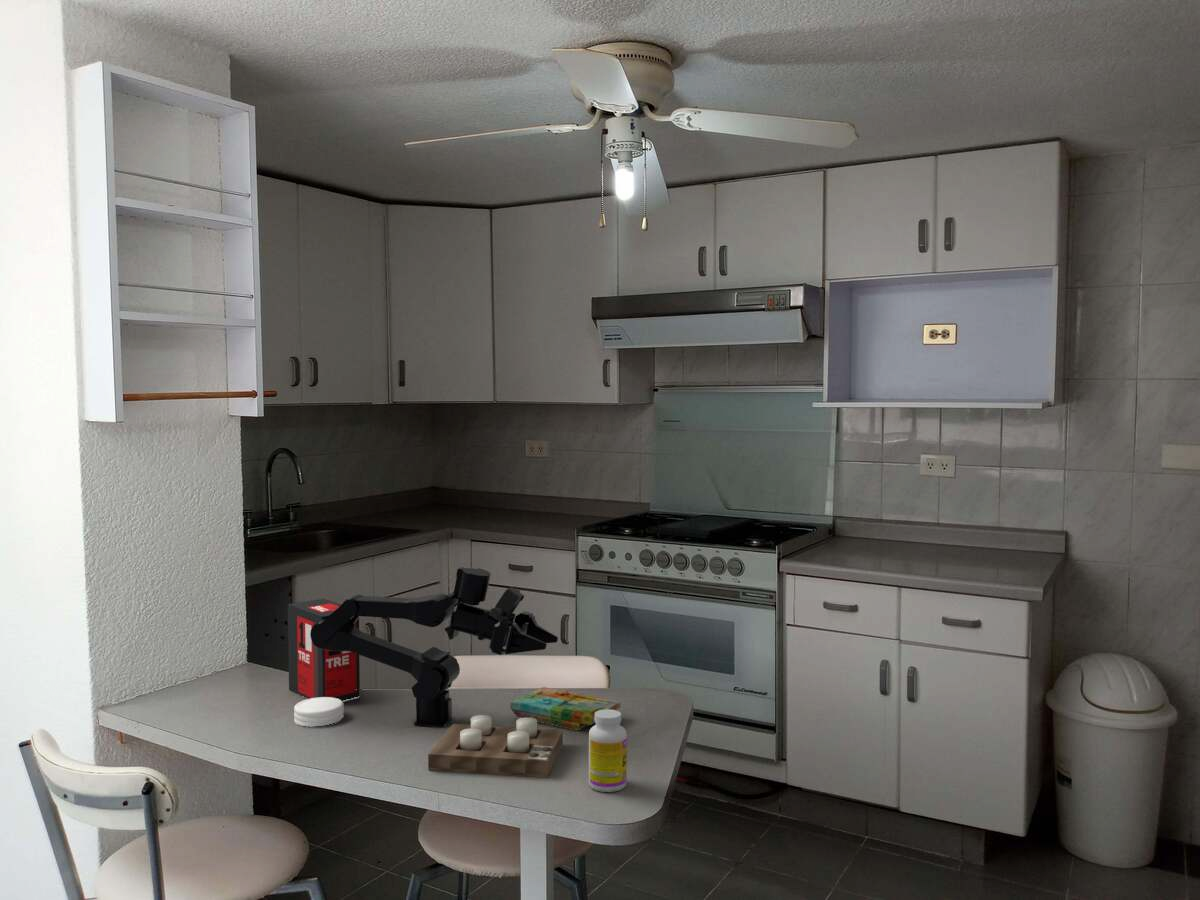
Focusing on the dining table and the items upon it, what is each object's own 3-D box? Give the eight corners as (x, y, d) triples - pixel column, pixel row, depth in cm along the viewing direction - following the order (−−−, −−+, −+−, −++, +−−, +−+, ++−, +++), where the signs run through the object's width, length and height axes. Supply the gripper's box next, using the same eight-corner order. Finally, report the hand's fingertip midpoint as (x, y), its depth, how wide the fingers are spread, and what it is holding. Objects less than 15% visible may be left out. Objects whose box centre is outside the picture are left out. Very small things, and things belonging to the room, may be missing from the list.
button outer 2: (505, 752, 173) (505, 738, 173) (510, 744, 177) (510, 730, 177) (526, 753, 173) (526, 739, 173) (531, 745, 177) (531, 731, 177)
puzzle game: (541, 683, 210) (620, 698, 200) (540, 704, 210) (620, 720, 200) (510, 698, 200) (592, 714, 190) (510, 720, 200) (592, 737, 190)
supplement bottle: (628, 793, 163) (628, 719, 162) (589, 794, 162) (590, 720, 161) (624, 777, 169) (624, 706, 169) (587, 778, 169) (587, 707, 168)
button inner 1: (468, 735, 182) (468, 721, 182) (473, 728, 186) (473, 714, 186) (488, 736, 181) (488, 722, 181) (493, 729, 185) (493, 715, 185)
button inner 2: (514, 737, 181) (514, 724, 181) (518, 730, 185) (518, 717, 184) (534, 739, 180) (534, 725, 180) (538, 731, 184) (539, 718, 184)
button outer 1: (457, 749, 174) (457, 735, 174) (463, 742, 178) (463, 727, 178) (478, 751, 174) (478, 736, 174) (484, 743, 178) (484, 729, 178)
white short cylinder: (297, 731, 192) (296, 714, 192) (291, 716, 201) (291, 699, 201) (347, 724, 196) (347, 707, 196) (339, 709, 205) (339, 693, 205)
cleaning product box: (288, 690, 218) (287, 604, 217) (324, 682, 224) (323, 598, 223) (322, 707, 206) (322, 616, 205) (359, 698, 212) (359, 610, 211)
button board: (428, 770, 172) (428, 752, 172) (453, 738, 188) (453, 722, 188) (547, 777, 169) (547, 759, 169) (562, 744, 185) (562, 728, 185)
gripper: (474, 588, 185) (549, 609, 182) (503, 580, 203) (571, 599, 200) (461, 644, 185) (536, 666, 182) (491, 631, 203) (559, 650, 200)
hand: (551, 643), depth 191 cm, fingers open, 9 cm apart
